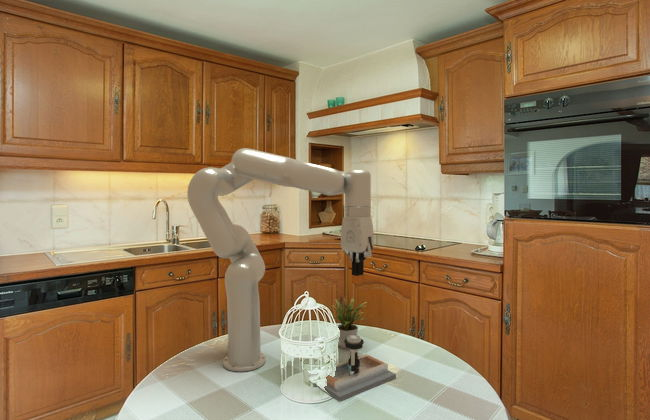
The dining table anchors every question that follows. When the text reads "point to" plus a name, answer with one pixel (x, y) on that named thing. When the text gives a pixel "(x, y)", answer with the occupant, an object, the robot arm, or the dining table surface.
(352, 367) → the round cylindrical fitting
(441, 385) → the dining table surface
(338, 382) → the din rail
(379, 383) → the panel
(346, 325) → the house plant
